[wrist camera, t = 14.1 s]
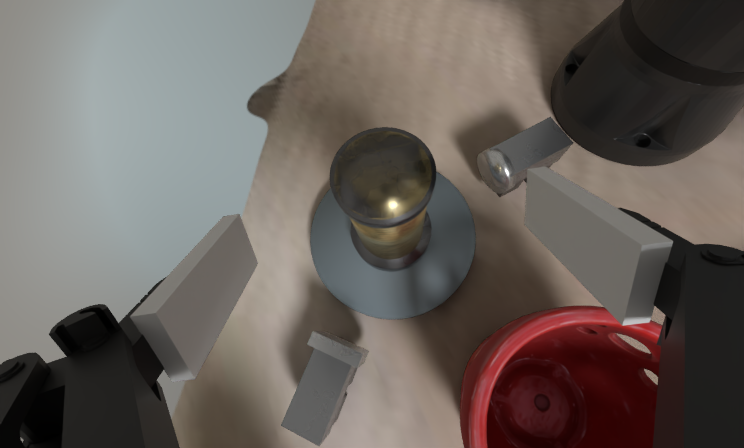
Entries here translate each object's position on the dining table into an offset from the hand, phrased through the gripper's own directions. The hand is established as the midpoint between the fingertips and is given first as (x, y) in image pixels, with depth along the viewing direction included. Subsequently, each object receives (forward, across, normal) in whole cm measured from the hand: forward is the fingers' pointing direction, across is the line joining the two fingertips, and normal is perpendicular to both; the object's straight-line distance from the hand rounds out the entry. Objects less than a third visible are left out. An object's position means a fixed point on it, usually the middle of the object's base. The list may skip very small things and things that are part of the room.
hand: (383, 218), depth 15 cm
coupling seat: (+14, 0, -9) cm, 16 cm away
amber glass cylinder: (+13, 0, -8) cm, 15 cm away
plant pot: (+3, +9, -19) cm, 22 cm away
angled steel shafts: (+11, +3, -12) cm, 16 cm away
